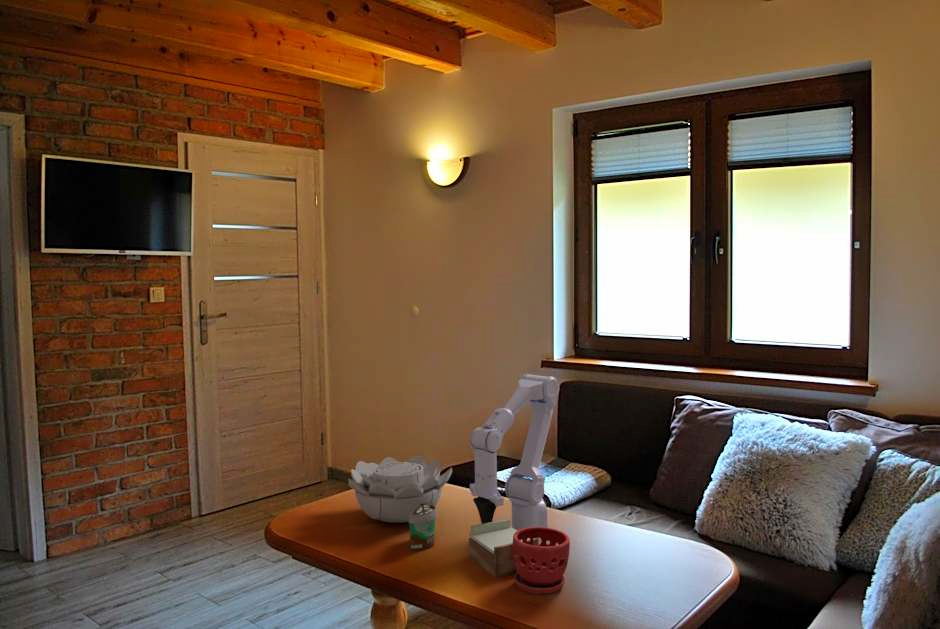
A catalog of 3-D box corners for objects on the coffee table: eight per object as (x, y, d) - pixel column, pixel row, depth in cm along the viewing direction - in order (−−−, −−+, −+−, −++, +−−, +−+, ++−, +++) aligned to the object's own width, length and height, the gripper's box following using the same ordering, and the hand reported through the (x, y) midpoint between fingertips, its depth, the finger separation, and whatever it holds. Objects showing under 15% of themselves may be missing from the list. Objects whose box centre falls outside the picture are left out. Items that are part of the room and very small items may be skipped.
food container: (432, 554, 191) (431, 516, 191) (409, 553, 193) (408, 515, 192) (443, 537, 203) (442, 501, 203) (421, 535, 205) (421, 500, 204)
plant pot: (529, 603, 163) (529, 550, 163) (503, 580, 176) (503, 530, 175) (580, 591, 169) (580, 540, 168) (551, 570, 181) (551, 522, 180)
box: (509, 548, 195) (509, 521, 194) (538, 567, 182) (538, 538, 182) (469, 557, 189) (468, 529, 189) (496, 577, 177) (495, 548, 176)
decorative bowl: (393, 495, 241) (392, 449, 240) (467, 512, 223) (466, 463, 222) (323, 522, 216) (322, 472, 215) (401, 544, 199) (399, 489, 198)
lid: (509, 528, 194) (509, 518, 194) (535, 544, 183) (535, 533, 183) (469, 537, 189) (469, 526, 189) (493, 554, 178) (493, 542, 177)
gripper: (459, 469, 196) (460, 519, 197) (485, 483, 184) (486, 537, 185) (482, 465, 200) (483, 514, 201) (510, 479, 187) (511, 531, 188)
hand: (486, 525), depth 193 cm, fingers closed
